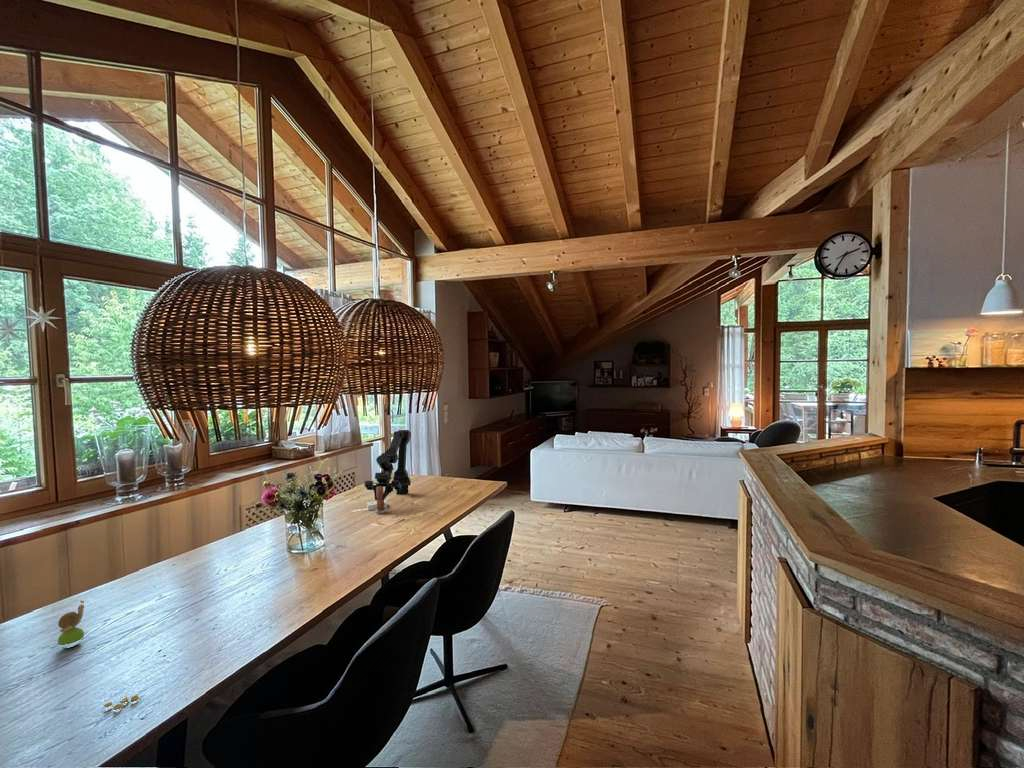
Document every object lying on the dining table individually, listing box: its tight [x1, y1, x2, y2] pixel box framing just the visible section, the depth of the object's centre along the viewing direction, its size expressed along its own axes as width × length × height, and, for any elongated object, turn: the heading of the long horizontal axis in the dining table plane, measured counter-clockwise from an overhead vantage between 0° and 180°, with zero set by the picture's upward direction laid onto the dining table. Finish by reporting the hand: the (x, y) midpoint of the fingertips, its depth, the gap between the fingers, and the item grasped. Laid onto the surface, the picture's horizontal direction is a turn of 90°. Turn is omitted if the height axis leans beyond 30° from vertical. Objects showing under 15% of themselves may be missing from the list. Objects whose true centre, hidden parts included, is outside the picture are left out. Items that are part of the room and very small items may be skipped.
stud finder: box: [366, 499, 388, 511], centre depth 243 cm, size 10×6×3 cm, turn 113°
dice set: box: [103, 694, 139, 710], centre depth 107 cm, size 5×5×2 cm
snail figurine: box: [57, 600, 85, 646], centre depth 131 cm, size 5×6×12 cm
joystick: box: [375, 486, 387, 515], centre depth 234 cm, size 5×5×14 cm
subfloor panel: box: [350, 508, 368, 513], centre depth 245 cm, size 19×17×1 cm
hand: (379, 499), depth 233 cm, fingers closed on joystick, 4 cm apart
